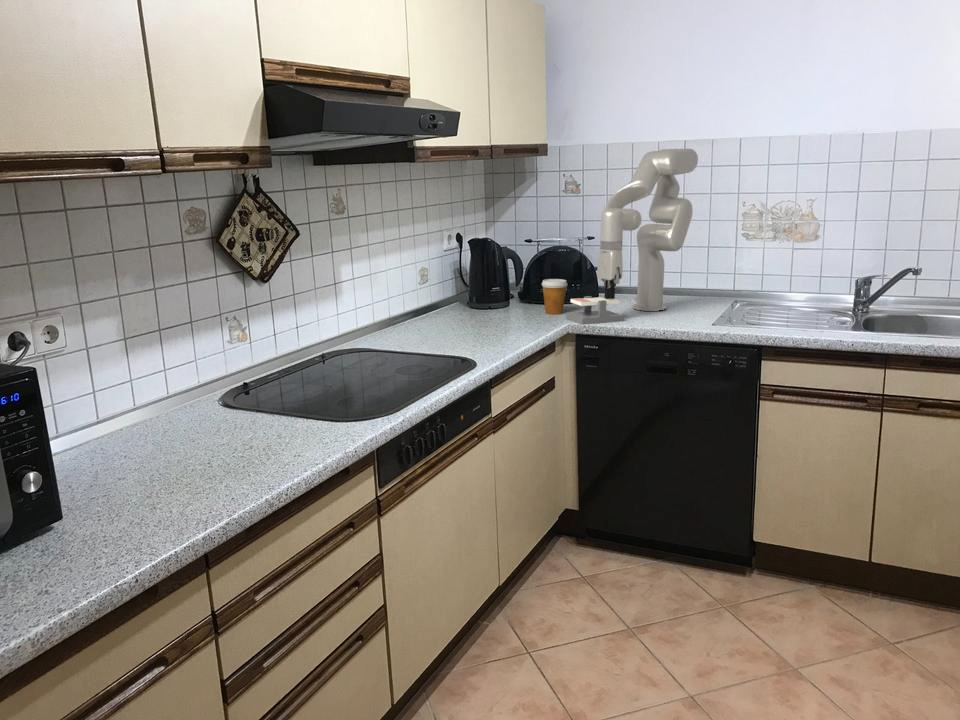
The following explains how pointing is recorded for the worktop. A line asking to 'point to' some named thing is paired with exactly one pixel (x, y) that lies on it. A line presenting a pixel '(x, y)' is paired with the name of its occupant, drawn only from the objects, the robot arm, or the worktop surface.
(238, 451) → the worktop surface
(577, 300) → the breaker rocker
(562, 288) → the disposable coffee cup
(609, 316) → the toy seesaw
